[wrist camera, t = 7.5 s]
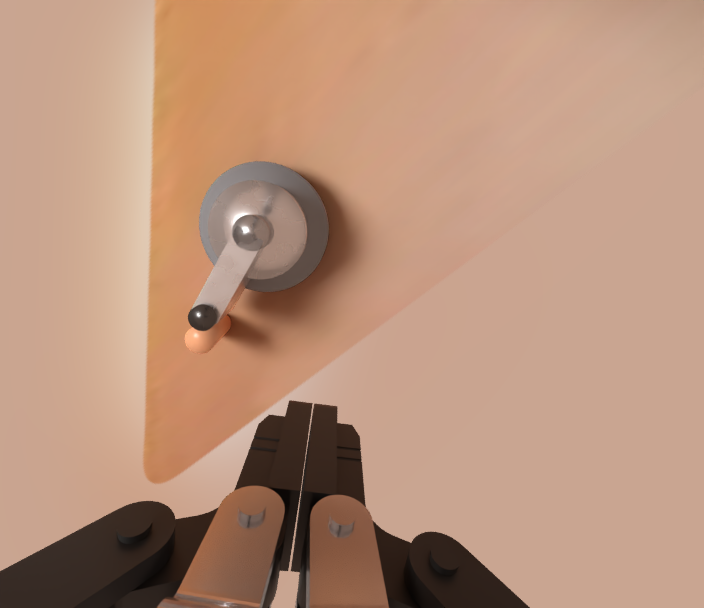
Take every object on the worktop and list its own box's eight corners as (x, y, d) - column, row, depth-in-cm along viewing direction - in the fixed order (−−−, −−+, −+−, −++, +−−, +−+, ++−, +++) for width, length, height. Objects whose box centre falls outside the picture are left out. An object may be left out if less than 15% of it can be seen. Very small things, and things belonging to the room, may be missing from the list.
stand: (214, 152, 29) (191, 142, 24) (338, 178, 29) (338, 173, 25) (197, 330, 32) (175, 349, 28) (308, 349, 33) (303, 371, 29)
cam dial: (244, 163, 27) (225, 154, 22) (325, 215, 28) (322, 216, 23) (177, 289, 29) (148, 303, 24) (255, 332, 30) (240, 353, 26)
